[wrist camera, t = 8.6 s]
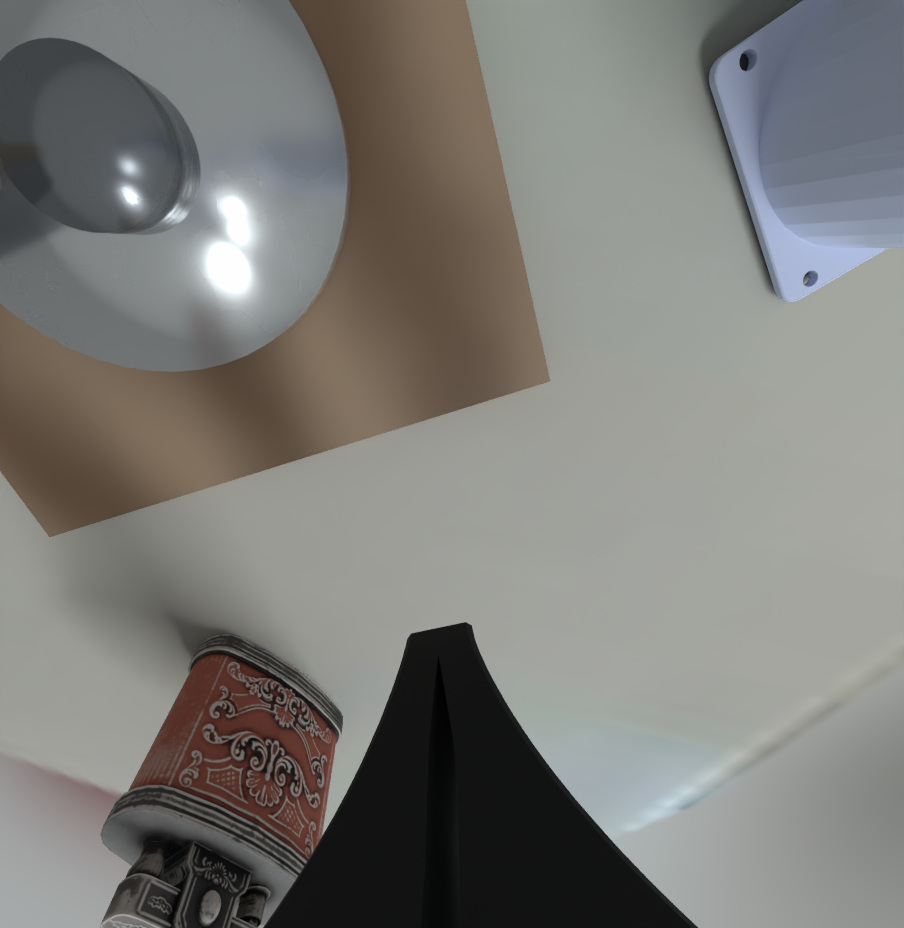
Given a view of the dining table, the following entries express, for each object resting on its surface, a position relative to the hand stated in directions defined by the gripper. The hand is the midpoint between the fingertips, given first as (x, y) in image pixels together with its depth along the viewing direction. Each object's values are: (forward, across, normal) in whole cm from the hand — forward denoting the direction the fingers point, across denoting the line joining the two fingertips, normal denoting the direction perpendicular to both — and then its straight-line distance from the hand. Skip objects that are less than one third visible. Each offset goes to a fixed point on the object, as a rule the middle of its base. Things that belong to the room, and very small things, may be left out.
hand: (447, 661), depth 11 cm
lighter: (+10, +10, +9) cm, 16 cm away
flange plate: (+8, +7, -12) cm, 16 cm away
